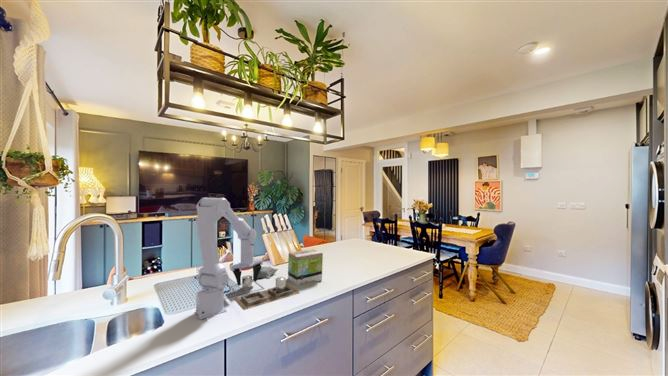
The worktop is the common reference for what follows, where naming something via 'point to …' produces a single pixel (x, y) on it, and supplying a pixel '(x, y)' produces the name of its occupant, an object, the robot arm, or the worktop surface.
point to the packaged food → (266, 272)
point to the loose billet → (247, 282)
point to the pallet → (263, 297)
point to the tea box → (305, 266)
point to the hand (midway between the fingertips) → (247, 282)
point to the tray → (247, 292)
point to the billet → (280, 285)
